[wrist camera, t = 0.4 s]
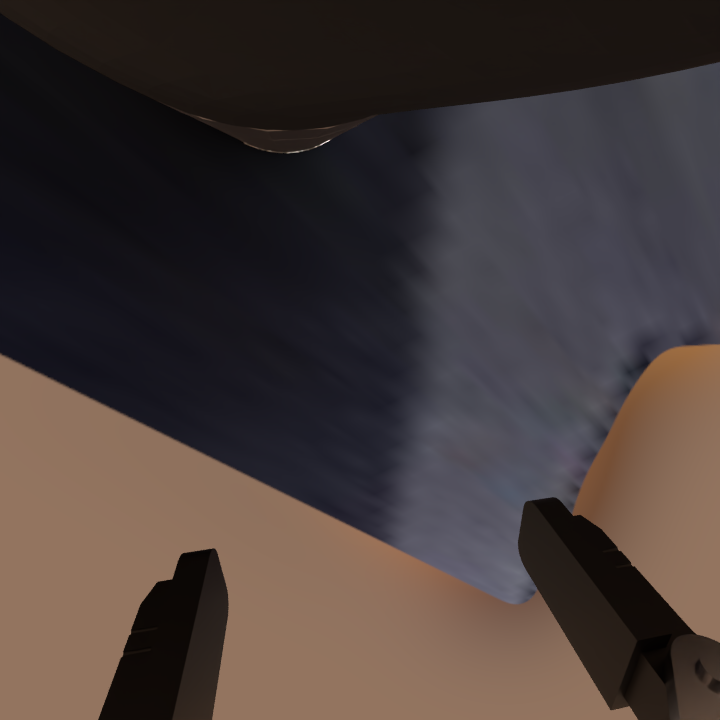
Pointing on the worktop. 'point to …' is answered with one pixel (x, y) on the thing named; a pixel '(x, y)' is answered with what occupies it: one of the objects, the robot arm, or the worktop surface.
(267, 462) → the worktop surface
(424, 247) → the worktop surface
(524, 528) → the robot arm
